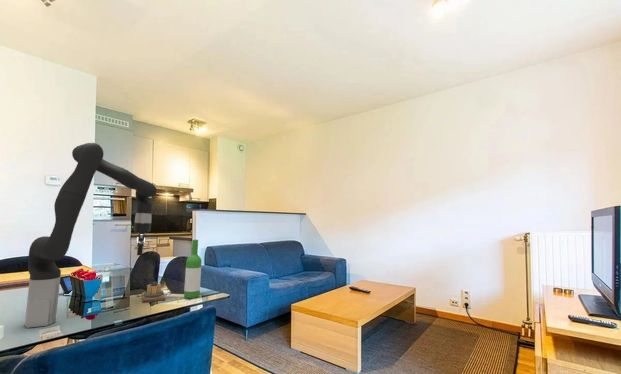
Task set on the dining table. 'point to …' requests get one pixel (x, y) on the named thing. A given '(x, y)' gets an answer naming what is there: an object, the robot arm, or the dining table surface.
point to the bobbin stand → (153, 296)
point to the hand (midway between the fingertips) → (139, 254)
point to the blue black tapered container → (66, 284)
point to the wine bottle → (193, 273)
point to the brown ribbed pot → (153, 289)
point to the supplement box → (98, 295)
